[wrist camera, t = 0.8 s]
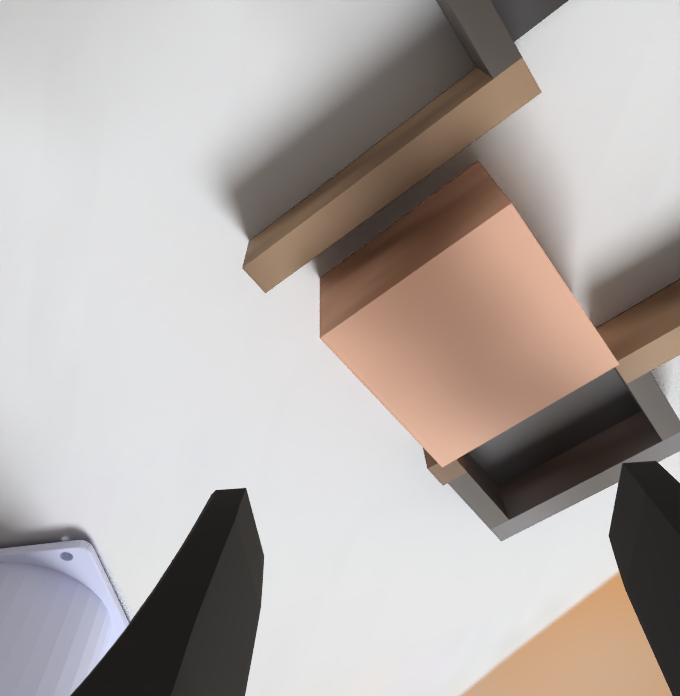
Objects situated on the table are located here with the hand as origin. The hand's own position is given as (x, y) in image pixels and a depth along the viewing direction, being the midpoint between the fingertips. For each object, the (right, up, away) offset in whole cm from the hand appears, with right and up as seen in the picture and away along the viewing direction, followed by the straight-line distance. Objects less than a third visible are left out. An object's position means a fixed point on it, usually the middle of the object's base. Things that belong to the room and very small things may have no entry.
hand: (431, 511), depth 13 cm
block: (+2, +5, +9) cm, 10 cm away
